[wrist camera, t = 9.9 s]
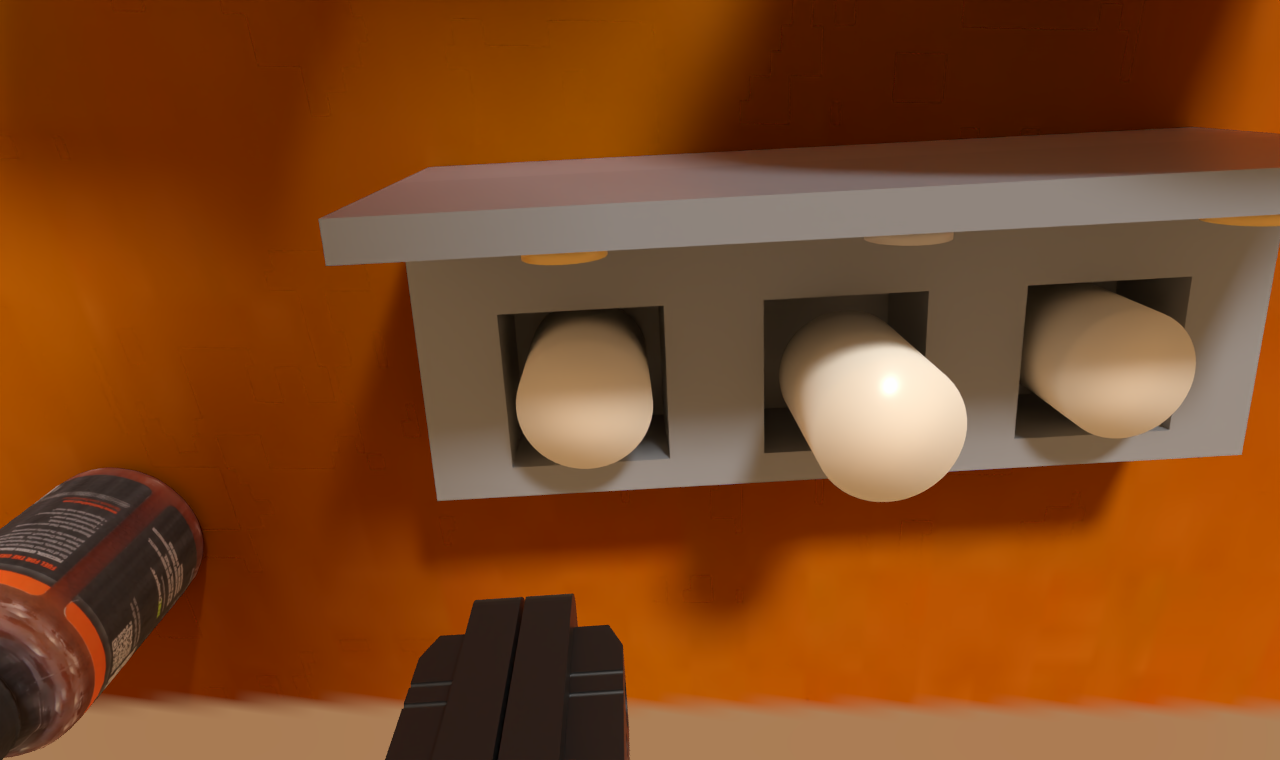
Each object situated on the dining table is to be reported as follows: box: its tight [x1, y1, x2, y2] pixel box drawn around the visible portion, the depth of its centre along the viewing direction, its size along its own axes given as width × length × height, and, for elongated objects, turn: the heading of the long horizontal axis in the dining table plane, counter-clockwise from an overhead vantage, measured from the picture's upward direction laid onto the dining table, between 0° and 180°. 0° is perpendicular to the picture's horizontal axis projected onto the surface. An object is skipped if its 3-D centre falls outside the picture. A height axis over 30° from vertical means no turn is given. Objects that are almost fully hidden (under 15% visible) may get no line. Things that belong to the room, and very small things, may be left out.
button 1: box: [516, 308, 653, 469], centre depth 28 cm, size 4×4×5 cm
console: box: [319, 127, 1280, 501], centre depth 26 cm, size 10×26×12 cm, turn 93°
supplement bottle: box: [0, 468, 203, 760], centre depth 29 cm, size 6×6×11 cm
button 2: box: [1019, 282, 1196, 438], centre depth 29 cm, size 4×4×5 cm
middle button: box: [779, 310, 967, 502], centre depth 25 cm, size 4×4×5 cm
